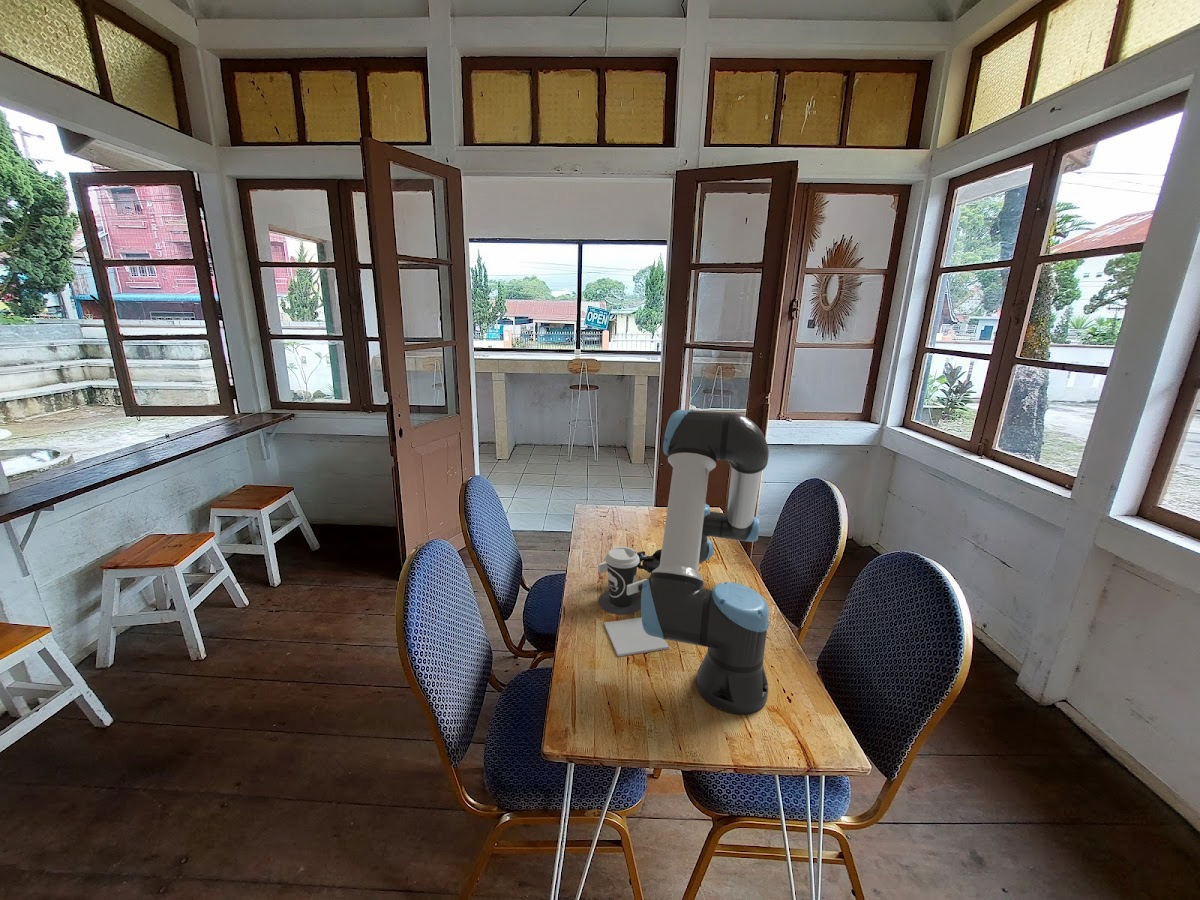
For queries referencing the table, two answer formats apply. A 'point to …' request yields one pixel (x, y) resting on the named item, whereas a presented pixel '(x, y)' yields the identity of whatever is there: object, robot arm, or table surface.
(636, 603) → the coaster
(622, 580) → the coffee cup
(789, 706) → the table surface
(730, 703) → the robot arm
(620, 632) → the plate
